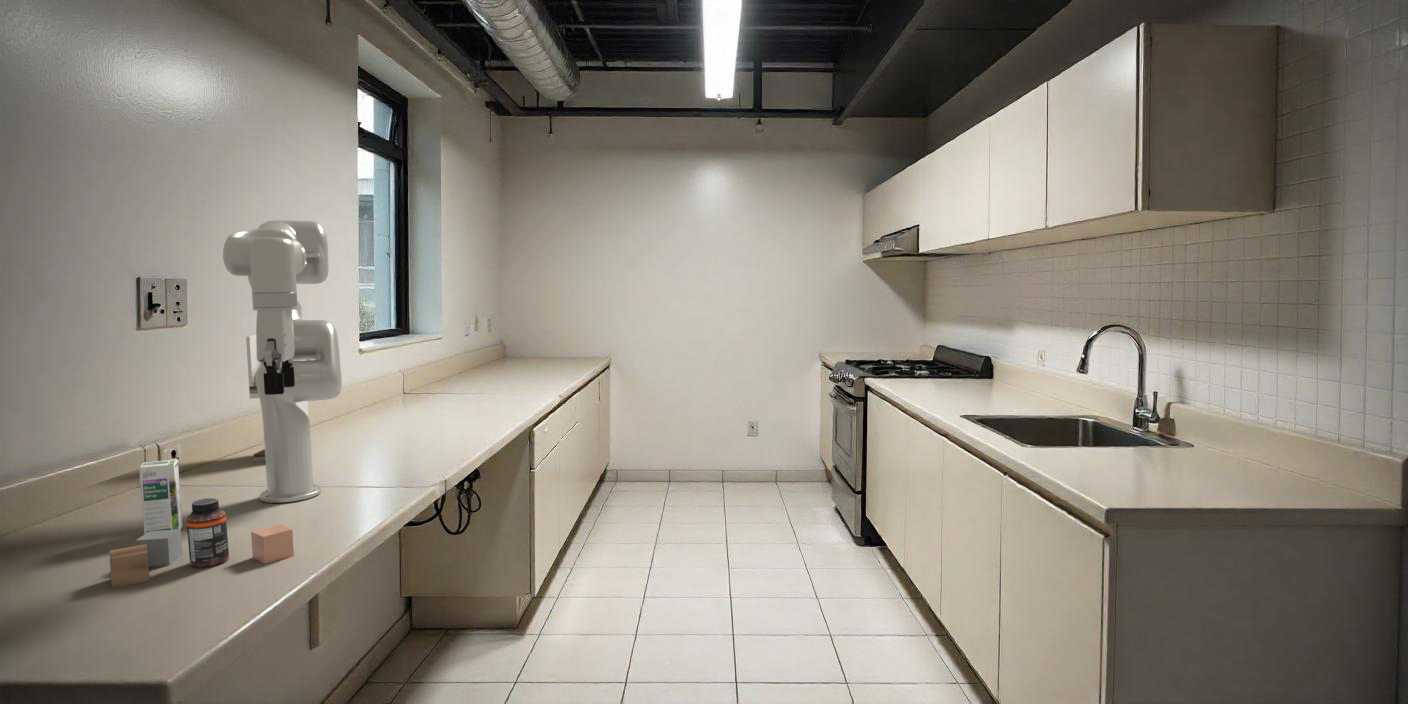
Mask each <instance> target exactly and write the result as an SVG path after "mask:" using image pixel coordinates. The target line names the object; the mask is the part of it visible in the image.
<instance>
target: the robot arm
mask: <svg viewBox="0 0 1408 704" xmlns="http://www.w3.org/2000/svg"><path fill="white" fill-rule="evenodd" d="M327 238H328V237H327V233H326V231H325V229H324V228H323V227H322V225H321V224H320V223H318V222H316V221H311V220H282V219H281V220H280V219H279V220H278V219H277V220H273V219H272V220H268V221H266V222H265V221H264V222H263V223H261V224H260V225H259V226H258V227H257V228H255V229H250V230H243V231H237V232H233V233H230V234H229V235H228V236H227V238H226V239H225V242H224V244H223V248H222V260H223V265H224V267H225V269H226V270H227V272H229V273H230V274H232V275H233V276H238V277H247V279H248V283H249V286H250V288H251V300H252V311H257V312H256V325H255V326H256V328H255V330H256V333H255V335H256V346H257V361H258V362H260V363H261V362H264V363H263V364H264V366H262V367H261V368H259V370H258V371H257V374H256V385H257V390H258V394H259V398H258V399H259V401H260V402H259V403H260V408H261V415H262V416H261V417H262V425H263V426H262V427H263V428H262V429H263V442H264V445H263V446H264V449H265V461H264V462H265V474H266V477H265V478H266V490H264V491H262V492H260V494H259V500H260V501H262V502H265V503H271V504H272V503H273V504H274V503H276V504H277V503H278V504H279V503H280V504H281V503H292V502H297V501H298V502H299V501H302V500H307V499H311V498H314V497H316V496H318V495H320V494H321V492H322V488H321V486H320V485H318V484H314V471H313V455H312V454H313V453H312V437H311V434H312V433H311V421H310V419H309V418H310V417H309V415H308V416H307V415H306V413H305V412H304V411H303V410H301V409H300V408H299V407H298V406H297V405H296V403H297V402H302V401H308V402H311V401H313V402H314V401H325V400H332V399H335V398H337V397H338V396H339V395H340V393H341V391H342V385H343V384H342V369H341V358H340V357H341V355H340V348H339V337H338V333H337V332H338V331H337V330H336V328H335V326H334V324H333V323H332V322H331V321H328V320H324V319H307V320H306V319H303V317H302V315H303V314H302V305H301V302H299V300H298V293H297V291H298V290H297V289H298V287H297V285H317V284H322V283H324V282H325V281H326V280H327V278H328V275H329V269H330V268H329V244H328V243H329V242H328V239H327ZM293 360H299V361H293ZM300 360H305V361H300ZM308 417H309V418H308Z"/></svg>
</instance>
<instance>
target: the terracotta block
mask: <svg viewBox="0 0 1408 704" xmlns="http://www.w3.org/2000/svg"><path fill="white" fill-rule="evenodd" d="M250 533H251V534H250V537H251V549H252V551H251V552H252V558H253V559H255V560H257V561H259V562H261V563H263V565H264V564H268V563H272V562H276V561H279V560H282V559H286V558H290V557H291V558H292V557H293V556H295V553H294V536H293V529H292V528H289V527H287V526H285V525H284V524H283V525H282V524H275V525H271V526H268V527H264V528H263V527H262V528H258V529H256V530H252V531H250Z"/></svg>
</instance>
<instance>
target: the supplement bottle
mask: <svg viewBox="0 0 1408 704" xmlns="http://www.w3.org/2000/svg"><path fill="white" fill-rule="evenodd" d="M219 503H220V501H219V499H218V498H215V497H211V498H210V497H208V498H202V499H197V500H195V501H193V502H191V513H190V514H189V515H188V516H187V517H186V530H187V531H186V532H187V543H188V545H187V546H188V554H189V564H190V566H192V567H194V568H208V567H209V568H211V567H213V566H218V565H220V564H222V563H225V562H226V561H227V560H228V559H229V558H230V552H229V540H228V525H227V524H228V523H227V514H226V512H225V511H224V509H221V507H220V504H219Z"/></svg>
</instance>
